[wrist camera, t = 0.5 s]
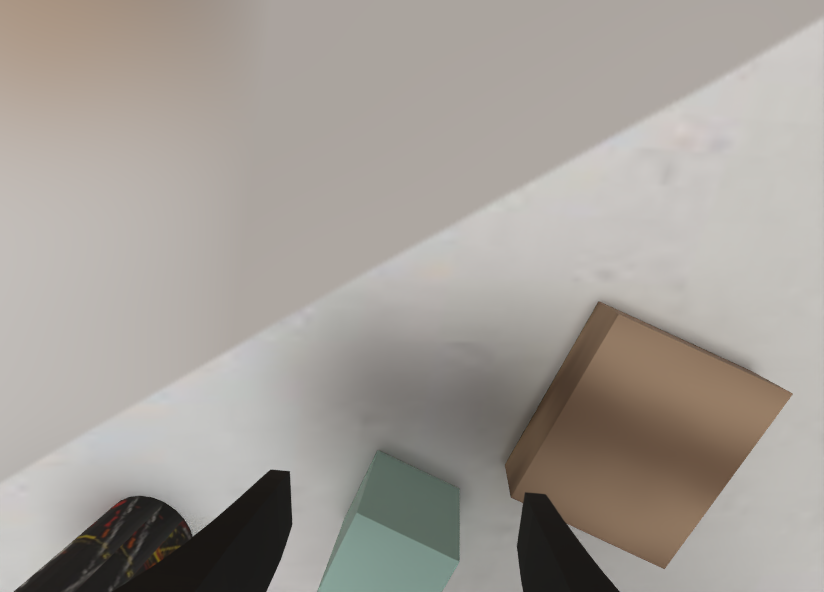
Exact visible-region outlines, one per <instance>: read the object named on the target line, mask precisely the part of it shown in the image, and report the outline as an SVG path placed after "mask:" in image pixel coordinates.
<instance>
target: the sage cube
mask: <svg viewBox="0 0 824 592" xmlns="http://www.w3.org/2000/svg"><path fill="white" fill-rule="evenodd" d="M458 563H459V488H457V487H455V486H453V485H451V484H448V483H446V482H444V481H442V480H440V479H438V478H436V477H434V476H432V475H429V474H427V473H425V472H423V471H421V470H419V469H417V468H415V467H413V466H410V465H408V464H406V463H404V462H402V461H400V460H398V459H396V458H394V457H391V456H389V455H387V454H385V453H383V452H381V451H379V450H378V451H377V453H376V455H375V457H374V459H373V461H372V463H371V465H370V467H369V469H368V471H367V473H366V475H365V477H364V480H363V482H362V484H361V486H360V488H359V490H358V492H357V494H356V496H355V498H354V500H353V502H352V504H351V506H350V508H349V510H348V512H347V515H346V517H345V519H344V521H343V524H342V527H341V529H340V532H339V535H338V537H337V540H336V543H335V545H334V548H333V551H332V554H331V556H330V559H329V562H328V564H327V567H326V570H325V572H324V575H323V578H322V580H321V583H320V586H319V588H318V591H317V592H442V591H443V589H444V587H445V586H446V584H447V582H448V580H449V579H450V577H451V575H452V574H453V572H454V570H455V569H456V567H457V565H458Z"/></svg>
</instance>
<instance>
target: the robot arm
mask: <svg viewBox="0 0 824 592" xmlns="http://www.w3.org/2000/svg"><path fill="white" fill-rule="evenodd" d="M291 527H292V508H291V486H290V471H280V470H270V471H269V472H267V473H266V474H265V475H264V476H263V477H262V478H261V479H259V480H258V481H257V482H256V483H255V484H254V485H253V486H252V487H251V488H250V489H248V490H247V491H246V492H245V493H244V494H243V495H242V496H241V497H240V498H238V499H237V500H236V501H235V502H234V503H233V504H232V505H231V506H229V507H228V508H227V509H226V510H225V511H224V512H222V513H221V514H220V515H219V516H218V517H217V518H216V519H214V520H213V521H212V522H211V523H210V524H208V525H207V526H206V527H205V528H203V529H202V530H201V531H200V532H198V533H197V534H196V535H195V536H193V537H192V538H191V539H190V540H188V541H187V542H186V543H184V544H183V545H182V546H180V547H179V548H178V549H176V550H175V551H174V552H172V553H171V554H170V555H168V556H167V557H165V558H164V559H162V560H161V561H159V562H158V563H156V564H155V565H154V566H152V567H151V568H149V569H148V570H146V571H144V572H143V573H141V574H140V575H138V576H136V577H135V578H133V579H132V580H130V581H128V582H127V583H125V584H123V585H122V586H120V587H118V588H117V589H115V590H114V591H112V592H266V591H267V589H268V587H269V584H270V582H271V580H272V578H273V576H274V573H275V571H276V569H277V567H278V565H279V562H280V560H281V557H282V554H283V551H284V549H285V546H286V543H287V540H288V536H289V533H290V530H291ZM517 551H518V559H519V567H520V575H521V582H522V587H523V592H619V590H618V589H617V588H616V587H615V586H614V584H613V583H612V582H611V581H610V580H609V579H608V577H607V576H606V575H605V574H604V573H603V571H602V570H601V569H600V568H599V566H598V565H597V564H596V563H595V561H594V560H593V559H592V557H591V556H590V555H589V554H588V552H587V551H586V550H585V548H584V547H583V546H582V544H581V543H580V542H579V540H578V539H577V538H576V536H575V535H574V534H573V532H572V531H571V529H570V528H569V527H568V525H567V524H566V522H565V521H564V520H563V518H562V517H561V515H560V514H559V512H558V511H557V509H556V508H555V506H554V505H553V503H552V502H551V501H550V499H549V498H548V496H547V495H546V494H539V493H528V492H525V495H524V501H523V508H522V515H521V522H520V529H519V536H518V543H517Z"/></svg>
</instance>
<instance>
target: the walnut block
mask: <svg viewBox="0 0 824 592" xmlns="http://www.w3.org/2000/svg"><path fill="white" fill-rule="evenodd" d="M791 396H792V393H791V392H789V391H787V390H785V389H783V388H781V387H780V386H778V385H776V384H774V383H772V382H770V381H769V380H767V379H765V378H763V377H761V376H759V375H758V374H756V373H754V372H752V371H750V370H748V369H746V368H744V367H741V366H739V365H737V364H735V363H733V362H730V361H728V360H726V359H724V358H722V357H719V356H717V355H715V354H713V353H711V352H708V351H706V350H704V349H702V348H700V347H698V346H695V345H693V344H691V343H689V342H687V341H684V340H682V339H680V338H678V337H676V336H673V335H671V334H669V333H667V332H665V331H663V330H660V329H658V328H656V327H654V326H652V325H649V324H647V323H645V322H643V321H641V320H638V319H636V318H634V317H632V316H630V315H628V314H625V313H623V312H621V311H619V310H617V309H614V308H612V307H610V306H608V305H606V304H603V303H601V302H598V303H597V305H596V307H595V309H594V310H593V312H592V314H591V316H590V317H589V319H588V321H587V323H586V324H585V326H584V328H583V330H582V331H581V333H580V335H579V337H578V338H577V340H576V342H575V344H574V345H573V347H572V349H571V351H570V352H569V354H568V356H567V358H566V359H565V361H564V363H563V364H562V366H561V368H560V370H559V371H558V373H557V375H556V377H555V378H554V380H553V382H552V384H551V385H550V387H549V389H548V391H547V392H546V394H545V396H544V398H543V399H542V401H541V403H540V405H539V406H538V408H537V410H536V412H535V413H534V415H533V417H532V419H531V420H530V422H529V424H528V426H527V427H526V429H525V431H524V432H523V434H522V436H521V438H520V439H519V441H518V443H517V445H516V446H515V448H514V450H513V452H512V453H511V455H510V457H509V459H508V460H507V462H506V464H505V468H506V474H507V479H508V484H509V490H510V495H511V498H513V499H515V500H518V501H520V502H522V503H523V501H524V495H525V492H528V493H539V494H546V495H547V496H548V498H549V499H550V501H551V502H552V503H553V505H554V506H555V508H556V509H557V511H558V512H559V514H560V515H561V517H562V518H563V520H564V521H565V522H566V523H567V524H569V525H571V526H573V527H575V528H577V529H580V530H582V531H584V532H586V533H588V534H590V535H592V536H595V537H597V538H599V539H601V540H603V541H605V542H607V543H610V544H612V545H614V546H616V547H618V548H620V549H622V550H625V551H627V552H629V553H631V554H633V555H635V556H637V557H640V558H642V559H644V560H646V561H648V562H650V563H652V564H655V565H657V566H659V567H661V568H663V569H665V568H666V566H667V565H668V563H669V562H670V561H671V559H672V558H673V557H674V555H675V554H676V553H677V551H678V550H679V548H680V547H681V546H682V544H683V543H684V542H685V540H686V539H687V538H688V536H689V535H690V534H691V532H692V531H693V529H694V528H695V527H696V525H697V524H698V523H699V521H700V520H701V519H702V517H703V516H704V514H705V513H706V512H707V510H708V509H709V508H710V506H711V505H712V504H713V502H714V501H715V499H716V498H717V497H718V495H719V494H720V493H721V491H722V490H723V489H724V487H725V486H726V484H727V483H728V482H729V480H730V479H731V478H732V476H733V475H734V474H735V472H736V471H737V469H738V468H739V467H740V465H741V464H742V463H743V461H744V460H745V459H746V457H747V456H748V454H749V453H750V452H751V450H752V449H753V448H754V446H755V445H756V444H757V442H758V441H759V439H760V438H761V437H762V435H763V434H764V433H765V431H766V430H767V429H768V427H769V426H770V424H771V423H772V422H773V420H774V419H775V418H776V416H777V415H778V414H779V412H780V411H781V409H782V408H783V407H784V405H785V404H786V403H787V401H788V400H789V399H790V397H791Z"/></svg>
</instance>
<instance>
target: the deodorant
mask: <svg viewBox="0 0 824 592" xmlns="http://www.w3.org/2000/svg"><path fill="white" fill-rule="evenodd" d="M191 538H192V535H191V531H190V529H189V527H188V526H187V524H186V522H185V521H184V519H183V518H182V517H181V516H180V515H179V514H178V513H177V512H176V511H175V510H174V509H173V508H171V507H170V506H168V505H167V504H165V503H164V502H161V501H159V500H156V499H154V498H149V497H143V496H137V497H129V498H126V499H124V500H121V501H120V502H118V503H117V504H116V505H115V506H113V507H112V508H111V509H110V510H109V511H108V512H106V513H105V514H104V515H103V516H102V517H101V518H99V519H98V520H97V521H96V522H95V523H94V524H92V525H91V526H90V527H89V528H88V529H87V530H85V531H84V532H83V533H82V534H81V535H79V536H78V537H77V538H76V539H75V540H74V541H72V542H71V543H70V544H69V545H68V546H67V547H65V548H64V549H63V550H62V551H61V552H60V553H58V554H57V555H56V556H55V557H54V558H53V559H51V560H50V561H49V562H48V563H47V564H46V565H44V566H43V567H42V568H41V569H40V570H39V571H37V572H36V573H35V574H34V575H33V576H32V577H30V578H29V579H28V580H27V581H26V582H25V583H23V584H22V585H21V586H20V587H19V588H17V589H16V590H15V591H14V592H112V591H114V590H115V589H117V588H118V587H120V586H122V585H123V584H125V583H127V582H128V581H130V580H132V579H133V578H135V577H136V576H138V575H140V574H141V573H143V572H144V571H146V570H148V569H149V568H151V567H152V566H154V565H155V564H156V563H158V562H159V561H161V560H162V559H164V558H165V557H167V556H168V555H170V554H171V553H172V552H174V551H175V550H176V549H178V548H179V547H180V546H182V545H183V544H184V543H186V542H187V541H188V540H190V539H191Z"/></svg>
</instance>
